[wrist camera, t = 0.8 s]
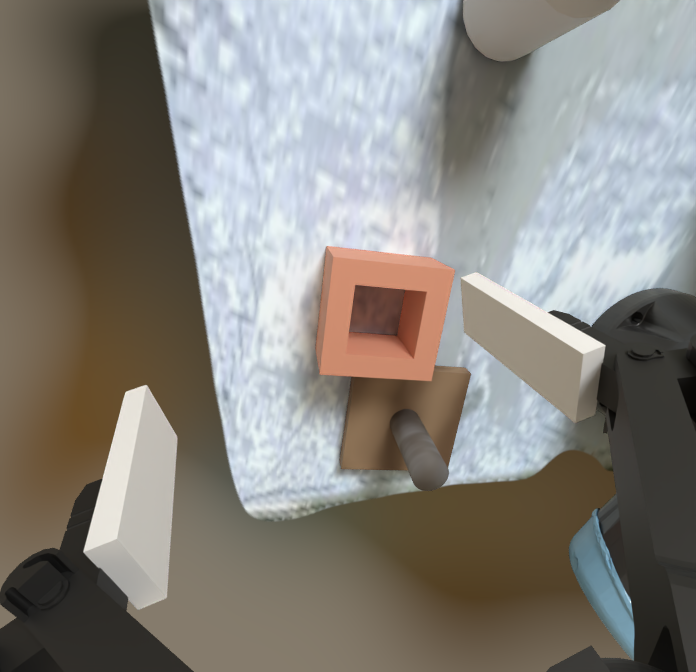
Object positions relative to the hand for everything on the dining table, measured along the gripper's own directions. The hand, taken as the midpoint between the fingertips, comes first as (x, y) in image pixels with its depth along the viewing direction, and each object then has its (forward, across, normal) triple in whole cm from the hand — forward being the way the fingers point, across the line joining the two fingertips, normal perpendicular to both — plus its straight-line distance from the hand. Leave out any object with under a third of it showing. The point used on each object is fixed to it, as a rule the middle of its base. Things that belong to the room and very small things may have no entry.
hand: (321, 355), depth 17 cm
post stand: (+18, -8, +22) cm, 30 cm away
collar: (+20, -8, +9) cm, 24 cm away
